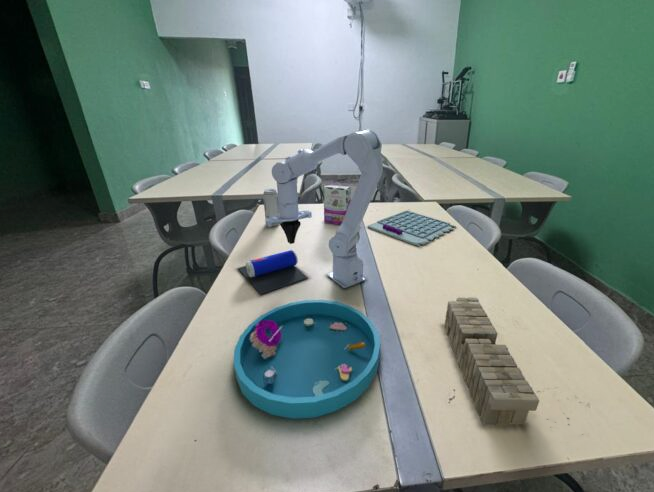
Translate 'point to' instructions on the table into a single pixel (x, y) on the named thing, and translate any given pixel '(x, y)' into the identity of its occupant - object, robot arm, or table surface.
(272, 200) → the energy drink can
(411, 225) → the calendar
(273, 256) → the beverage can
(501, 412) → the block tower
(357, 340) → the round teal tray
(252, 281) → the mat
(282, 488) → the table surface
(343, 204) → the candy bar box
